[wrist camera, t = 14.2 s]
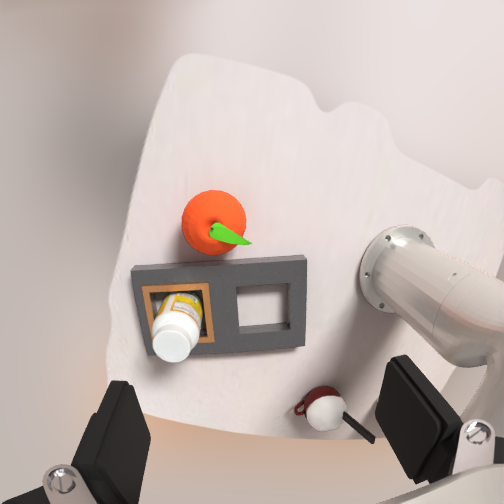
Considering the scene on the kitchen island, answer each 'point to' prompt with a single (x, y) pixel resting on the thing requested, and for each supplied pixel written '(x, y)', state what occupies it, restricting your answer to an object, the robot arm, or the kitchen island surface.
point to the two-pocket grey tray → (227, 300)
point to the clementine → (214, 222)
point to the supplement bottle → (177, 326)
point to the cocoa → (329, 411)
